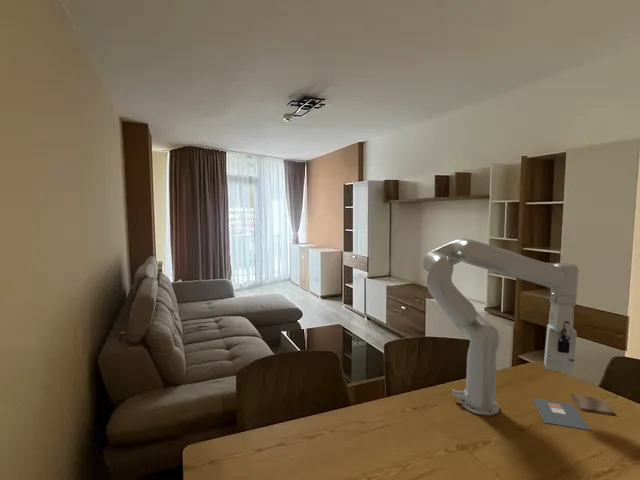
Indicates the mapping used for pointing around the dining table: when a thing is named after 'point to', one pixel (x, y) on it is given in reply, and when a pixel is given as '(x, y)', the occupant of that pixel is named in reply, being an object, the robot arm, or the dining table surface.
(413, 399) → the dining table surface
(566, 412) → the gray tile
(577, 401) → the coaster
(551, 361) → the skincare box
